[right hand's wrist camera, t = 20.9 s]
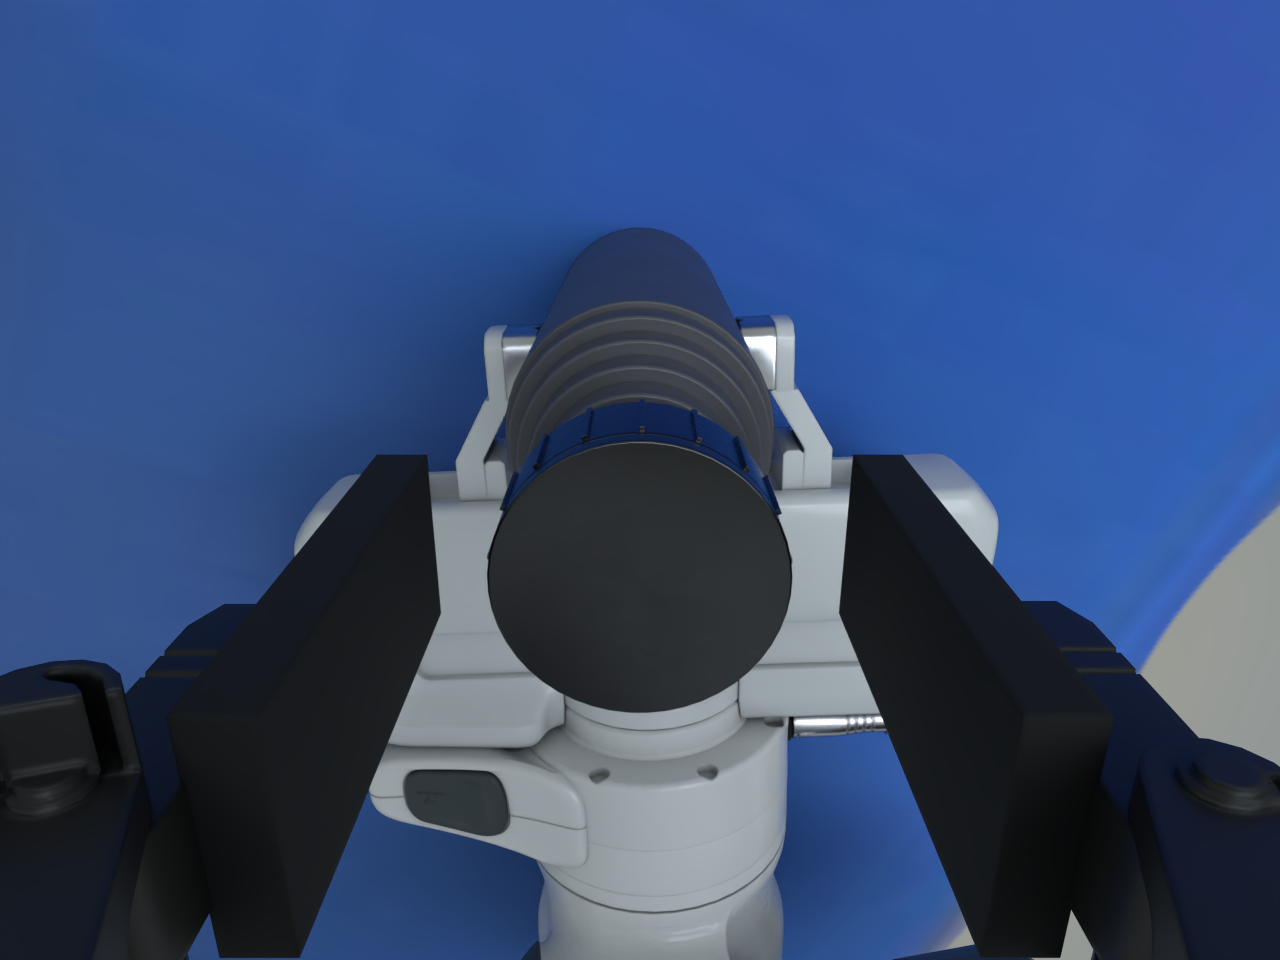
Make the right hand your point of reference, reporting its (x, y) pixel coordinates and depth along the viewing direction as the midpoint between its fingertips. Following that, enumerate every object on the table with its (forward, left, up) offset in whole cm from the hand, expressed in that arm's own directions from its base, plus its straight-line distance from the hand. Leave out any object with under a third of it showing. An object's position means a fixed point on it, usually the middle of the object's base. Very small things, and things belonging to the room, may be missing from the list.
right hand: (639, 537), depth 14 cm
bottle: (0, 0, -19) cm, 19 cm away
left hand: (0, +1, -12) cm, 12 cm away
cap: (0, 0, +1) cm, 1 cm away
